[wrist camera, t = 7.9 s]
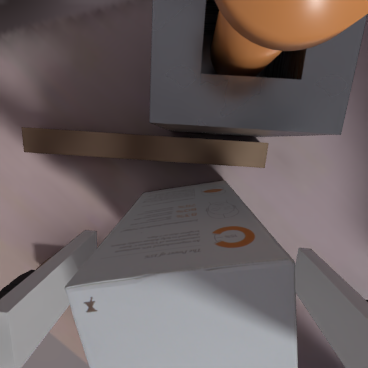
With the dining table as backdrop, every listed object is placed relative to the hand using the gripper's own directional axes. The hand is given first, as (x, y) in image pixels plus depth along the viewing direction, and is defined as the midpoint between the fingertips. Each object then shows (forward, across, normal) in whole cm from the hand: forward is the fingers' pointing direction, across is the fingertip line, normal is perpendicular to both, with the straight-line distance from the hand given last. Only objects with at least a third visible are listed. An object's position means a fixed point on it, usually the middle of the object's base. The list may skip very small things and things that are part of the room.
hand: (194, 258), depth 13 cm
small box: (+7, +1, 0) cm, 7 cm away
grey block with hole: (+7, -1, -12) cm, 14 cm away
